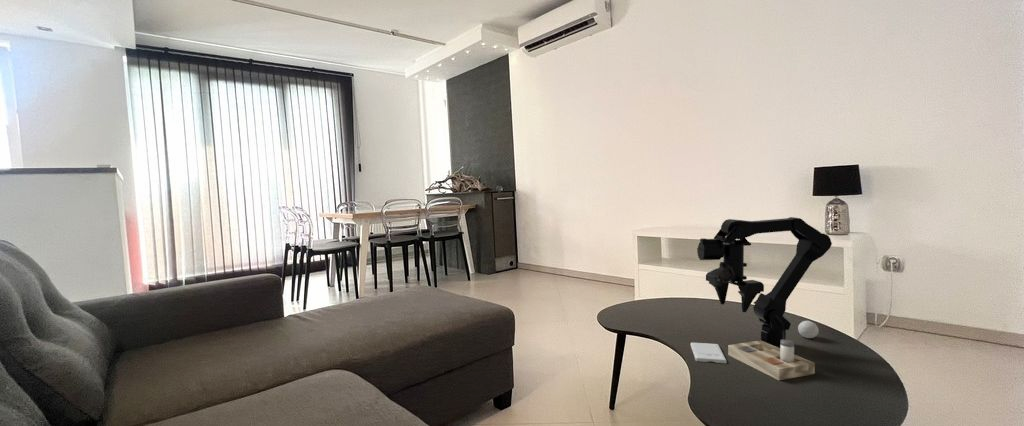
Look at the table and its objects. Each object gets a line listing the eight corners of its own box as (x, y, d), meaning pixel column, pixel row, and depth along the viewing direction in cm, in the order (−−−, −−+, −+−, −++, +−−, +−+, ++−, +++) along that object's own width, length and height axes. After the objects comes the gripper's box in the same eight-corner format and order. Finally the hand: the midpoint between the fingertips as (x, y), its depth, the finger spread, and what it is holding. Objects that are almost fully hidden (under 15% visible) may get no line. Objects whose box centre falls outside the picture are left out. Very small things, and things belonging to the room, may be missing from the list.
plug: (786, 366, 124) (786, 338, 123) (796, 371, 121) (797, 342, 120) (777, 367, 123) (777, 340, 122) (787, 372, 120) (787, 344, 119)
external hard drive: (718, 349, 139) (726, 365, 127) (690, 347, 141) (695, 362, 129) (718, 344, 139) (726, 359, 127) (690, 342, 141) (695, 357, 129)
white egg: (821, 341, 141) (821, 324, 141) (800, 339, 143) (800, 323, 143) (813, 333, 148) (814, 317, 148) (794, 332, 150) (794, 316, 150)
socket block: (760, 349, 136) (760, 339, 136) (814, 373, 119) (814, 362, 118) (728, 354, 133) (728, 344, 133) (778, 380, 115) (779, 368, 115)
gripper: (691, 256, 145) (691, 303, 146) (734, 266, 127) (734, 319, 128) (720, 254, 148) (720, 299, 149) (765, 263, 130) (765, 315, 131)
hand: (733, 308), depth 139 cm, fingers open, 9 cm apart
